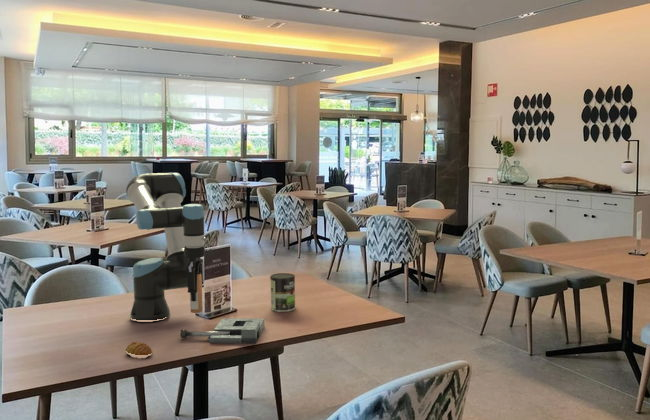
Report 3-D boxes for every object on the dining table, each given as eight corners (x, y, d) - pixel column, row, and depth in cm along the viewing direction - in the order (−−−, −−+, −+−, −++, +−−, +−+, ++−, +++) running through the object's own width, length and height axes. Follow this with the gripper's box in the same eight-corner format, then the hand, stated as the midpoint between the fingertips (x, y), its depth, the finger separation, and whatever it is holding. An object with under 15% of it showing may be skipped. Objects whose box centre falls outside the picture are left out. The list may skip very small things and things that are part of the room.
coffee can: (300, 307, 238) (299, 274, 237) (284, 313, 230) (283, 279, 229) (282, 303, 245) (281, 271, 243) (265, 309, 236) (264, 276, 235)
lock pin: (180, 339, 200) (180, 331, 200) (183, 336, 203) (182, 328, 203) (228, 339, 199) (228, 331, 199) (230, 336, 202) (230, 328, 202)
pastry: (158, 355, 187) (157, 344, 186) (141, 362, 181) (140, 350, 181) (140, 349, 192) (139, 339, 192) (122, 356, 187) (122, 345, 186)
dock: (206, 343, 197) (205, 329, 196) (218, 326, 215) (218, 313, 214) (255, 343, 196) (255, 329, 195) (264, 326, 214) (264, 313, 213)
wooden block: (189, 312, 211) (187, 276, 209) (192, 309, 216) (191, 273, 214) (200, 313, 211) (199, 276, 209) (203, 309, 215) (202, 273, 213)
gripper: (197, 251, 201) (199, 314, 204) (210, 241, 218) (212, 300, 221) (177, 250, 201) (179, 314, 205) (191, 241, 219) (193, 299, 222)
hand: (196, 306), depth 213 cm, fingers closed on wooden block, 4 cm apart
